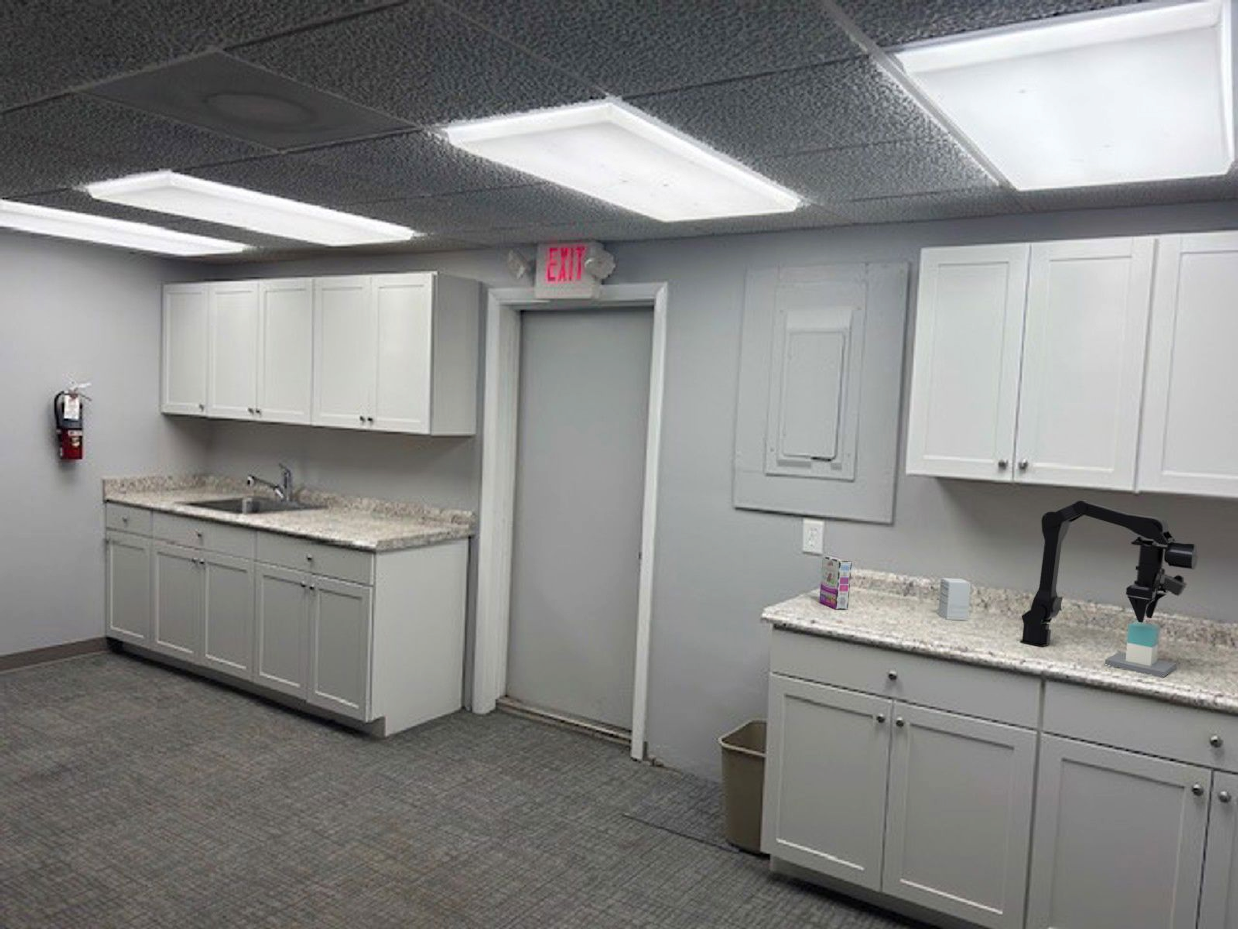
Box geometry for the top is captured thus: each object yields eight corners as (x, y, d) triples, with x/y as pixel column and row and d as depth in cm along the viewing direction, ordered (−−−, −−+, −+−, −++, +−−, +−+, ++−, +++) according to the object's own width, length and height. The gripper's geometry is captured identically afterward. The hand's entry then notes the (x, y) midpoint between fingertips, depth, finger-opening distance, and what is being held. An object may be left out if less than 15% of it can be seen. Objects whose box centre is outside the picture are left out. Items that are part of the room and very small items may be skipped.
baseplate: (1104, 665, 241) (1105, 659, 241) (1119, 657, 251) (1119, 651, 251) (1163, 677, 231) (1163, 672, 231) (1176, 669, 241) (1176, 663, 241)
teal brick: (1127, 642, 240) (1129, 624, 240) (1133, 639, 245) (1134, 621, 244) (1152, 647, 236) (1154, 629, 236) (1157, 644, 241) (1159, 626, 240)
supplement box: (958, 616, 294) (962, 578, 293) (968, 621, 287) (971, 582, 286) (937, 614, 294) (940, 577, 293) (946, 620, 286) (949, 581, 286)
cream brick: (1125, 660, 241) (1127, 642, 240) (1131, 657, 245) (1133, 639, 245) (1150, 666, 236) (1152, 647, 236) (1156, 662, 241) (1158, 644, 241)
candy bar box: (849, 610, 293) (852, 561, 292) (835, 610, 291) (839, 561, 290) (831, 602, 303) (834, 555, 302) (818, 602, 302) (822, 555, 301)
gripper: (1176, 571, 227) (1170, 631, 228) (1192, 565, 240) (1187, 621, 241) (1128, 564, 235) (1122, 622, 235) (1146, 559, 248) (1141, 613, 249)
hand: (1144, 620), depth 240 cm, fingers open, 9 cm apart
